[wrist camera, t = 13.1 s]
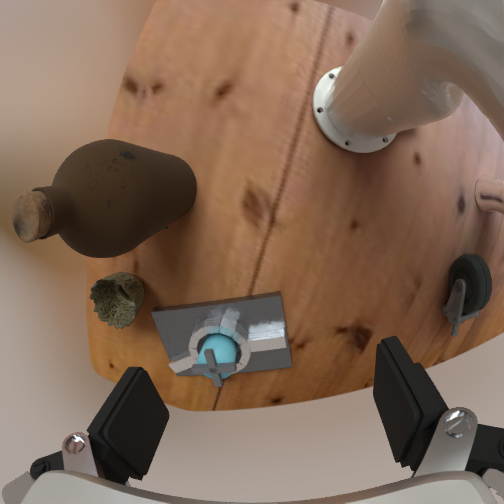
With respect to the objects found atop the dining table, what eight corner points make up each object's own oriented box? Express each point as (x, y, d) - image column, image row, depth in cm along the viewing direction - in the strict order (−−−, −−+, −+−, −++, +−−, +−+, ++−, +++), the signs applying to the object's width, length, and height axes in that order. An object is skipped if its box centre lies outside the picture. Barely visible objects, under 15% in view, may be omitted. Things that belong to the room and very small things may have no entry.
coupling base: (280, 291, 39) (280, 303, 35) (291, 361, 42) (292, 376, 38) (154, 308, 41) (144, 319, 37) (179, 370, 44) (172, 384, 41)
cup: (160, 305, 41) (139, 331, 33) (121, 304, 42) (97, 327, 34) (151, 260, 39) (126, 279, 31) (112, 261, 40) (84, 279, 32)
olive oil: (142, 144, 34) (-3, 127, 10) (210, 159, 34) (98, 137, 10) (126, 214, 37) (-10, 268, 13) (190, 234, 37) (80, 325, 13)
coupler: (216, 322, 39) (206, 349, 33) (244, 340, 40) (239, 369, 33) (200, 343, 41) (188, 371, 34) (227, 360, 41) (219, 389, 34)
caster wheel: (441, 251, 36) (436, 333, 39) (476, 264, 27) (463, 358, 29) (465, 247, 36) (458, 326, 38) (500, 258, 26) (486, 348, 29)
